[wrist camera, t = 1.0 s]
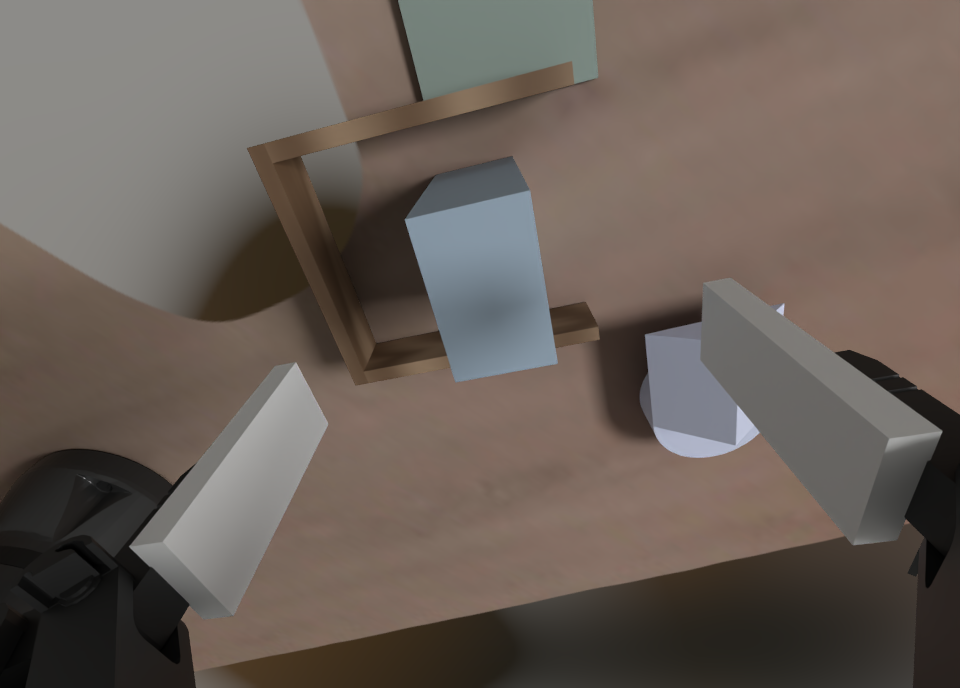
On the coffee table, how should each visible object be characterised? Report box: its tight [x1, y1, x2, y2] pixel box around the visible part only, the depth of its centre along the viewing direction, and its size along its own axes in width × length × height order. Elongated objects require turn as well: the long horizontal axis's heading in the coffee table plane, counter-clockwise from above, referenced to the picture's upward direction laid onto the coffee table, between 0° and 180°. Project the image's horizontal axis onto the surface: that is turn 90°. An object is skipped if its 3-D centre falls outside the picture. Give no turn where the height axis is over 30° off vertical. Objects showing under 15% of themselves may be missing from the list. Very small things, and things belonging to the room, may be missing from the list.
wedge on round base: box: [640, 303, 784, 458], centre depth 31 cm, size 9×7×13 cm
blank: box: [405, 156, 558, 382], centre depth 23 cm, size 5×8×12 cm, turn 13°
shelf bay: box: [247, 61, 600, 385], centre depth 27 cm, size 18×16×4 cm
